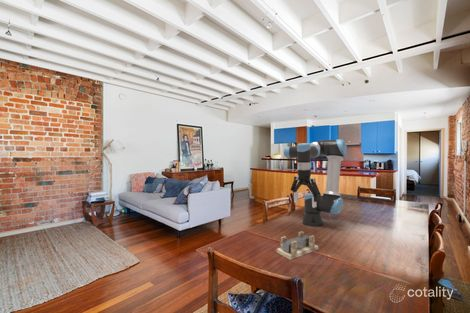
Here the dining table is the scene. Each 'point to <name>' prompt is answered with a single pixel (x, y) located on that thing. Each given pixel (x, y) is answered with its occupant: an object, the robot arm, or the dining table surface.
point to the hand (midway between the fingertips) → (304, 204)
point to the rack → (294, 251)
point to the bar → (301, 243)
